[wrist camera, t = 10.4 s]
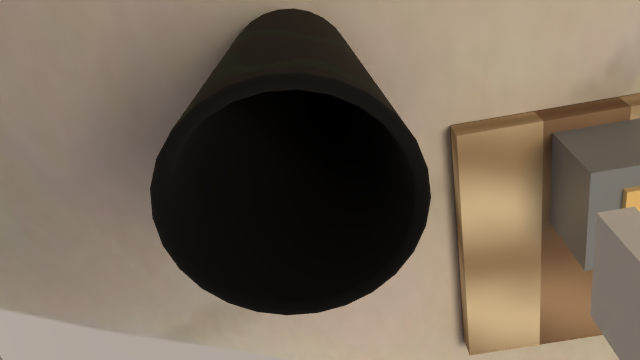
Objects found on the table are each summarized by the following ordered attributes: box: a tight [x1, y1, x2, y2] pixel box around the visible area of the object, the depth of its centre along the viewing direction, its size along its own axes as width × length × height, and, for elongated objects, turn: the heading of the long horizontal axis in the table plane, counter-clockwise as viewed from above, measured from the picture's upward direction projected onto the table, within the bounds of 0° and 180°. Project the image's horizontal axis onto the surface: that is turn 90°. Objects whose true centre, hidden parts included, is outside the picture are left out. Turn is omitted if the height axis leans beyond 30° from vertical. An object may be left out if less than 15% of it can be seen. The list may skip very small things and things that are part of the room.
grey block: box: [550, 118, 640, 271], centre depth 27 cm, size 5×5×4 cm
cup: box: [150, 9, 431, 315], centre depth 22 cm, size 8×8×12 cm
